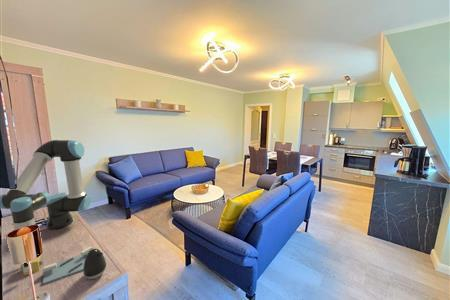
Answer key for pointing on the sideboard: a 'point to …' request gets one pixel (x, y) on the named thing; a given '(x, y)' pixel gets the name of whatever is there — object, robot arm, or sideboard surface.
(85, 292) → the sideboard surface
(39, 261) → the coupler
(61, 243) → the sideboard surface
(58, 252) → the sideboard surface
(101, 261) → the dark grey dome
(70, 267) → the shaft rig
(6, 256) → the sideboard surface
